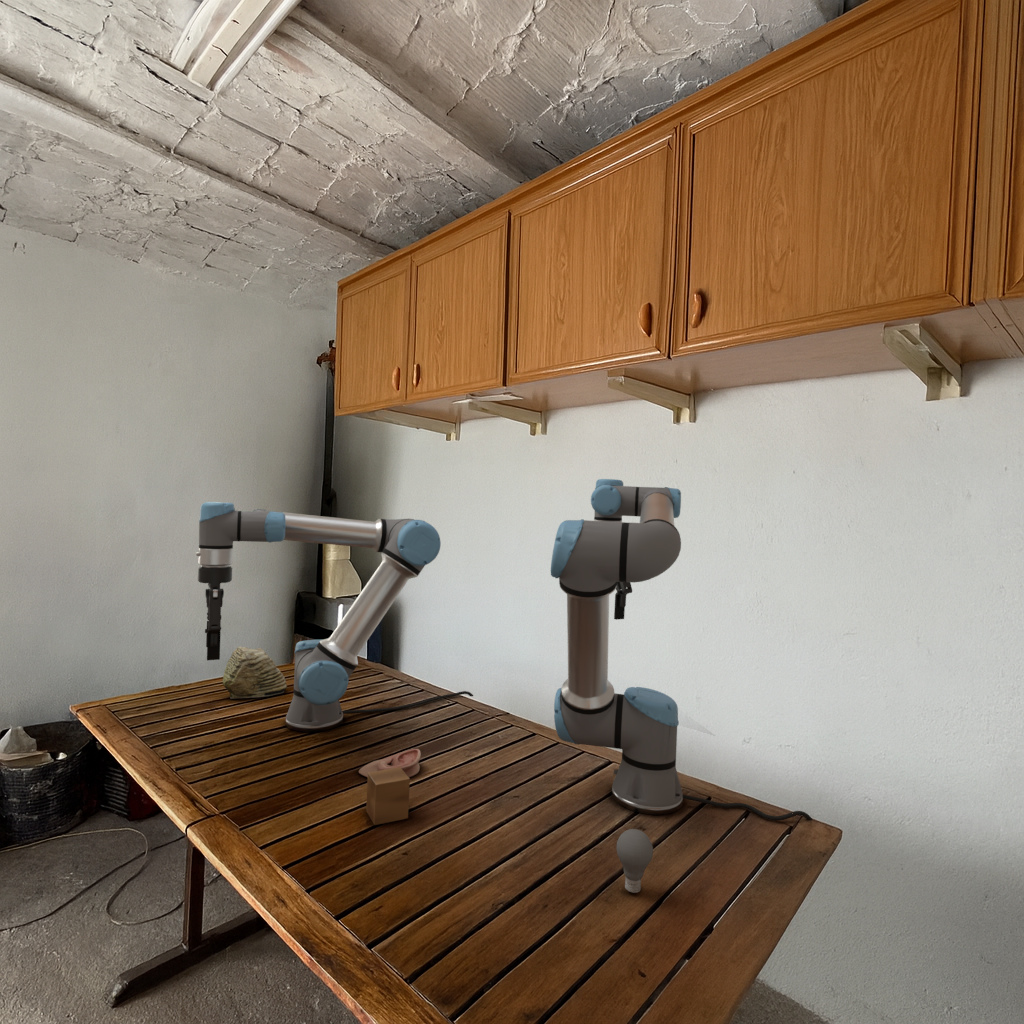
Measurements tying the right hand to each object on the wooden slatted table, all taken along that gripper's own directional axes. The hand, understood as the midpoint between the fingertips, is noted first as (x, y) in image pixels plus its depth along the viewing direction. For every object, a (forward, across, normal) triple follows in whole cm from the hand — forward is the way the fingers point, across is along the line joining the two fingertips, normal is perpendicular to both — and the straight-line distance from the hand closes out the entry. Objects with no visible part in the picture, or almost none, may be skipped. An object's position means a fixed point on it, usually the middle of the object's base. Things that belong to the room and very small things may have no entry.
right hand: (603, 614), depth 172 cm
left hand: (+10, -30, -94) cm, 99 cm away
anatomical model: (+34, -3, -57) cm, 67 cm away
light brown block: (+34, +17, -64) cm, 75 cm away
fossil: (+34, -72, -80) cm, 113 cm away
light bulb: (+34, +57, -34) cm, 75 cm away
